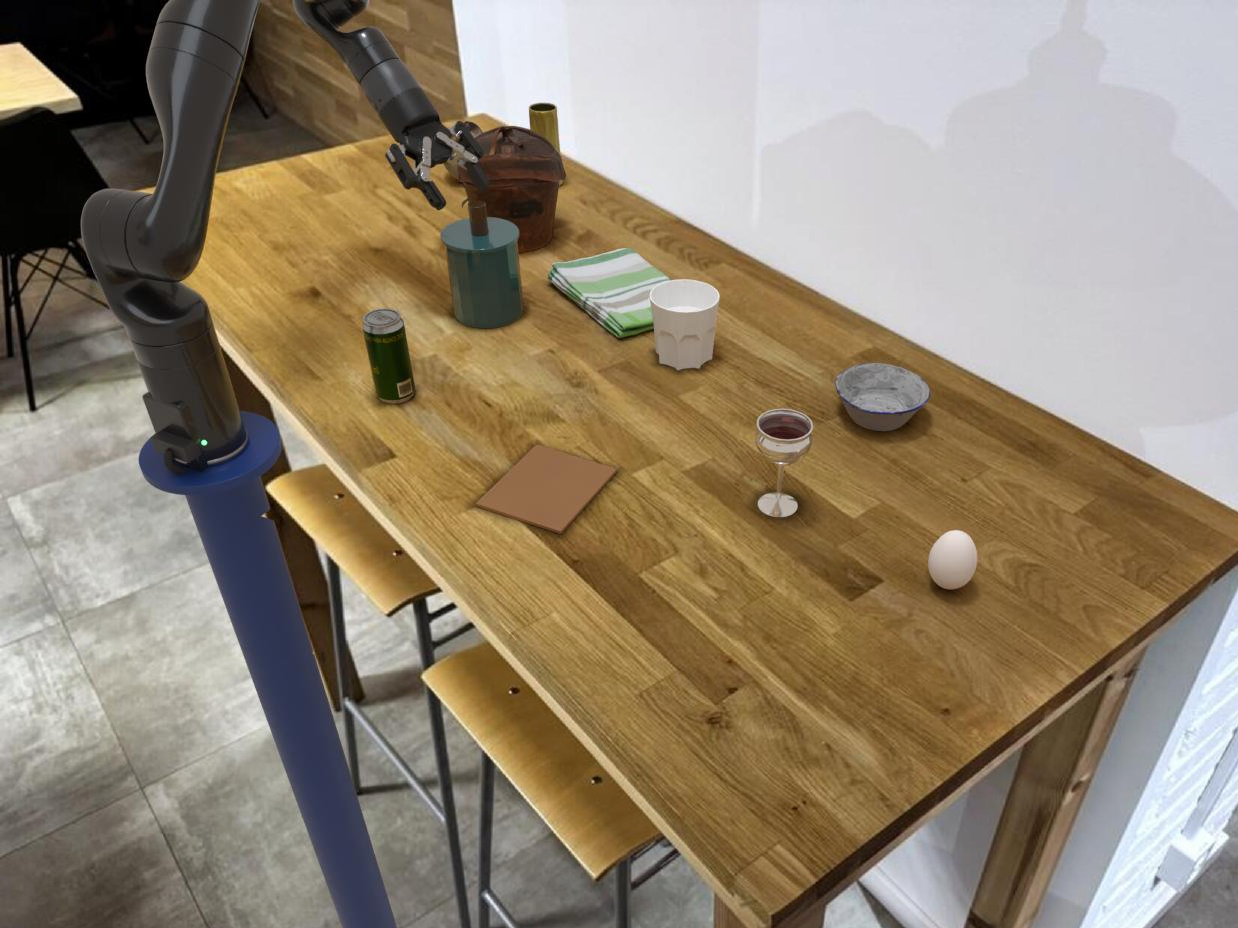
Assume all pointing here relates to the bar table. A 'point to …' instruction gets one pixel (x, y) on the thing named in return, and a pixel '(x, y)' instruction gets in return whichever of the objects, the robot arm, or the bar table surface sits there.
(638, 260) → the dish towel
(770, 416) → the wineglass
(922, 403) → the bowl
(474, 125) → the fruit
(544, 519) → the mat
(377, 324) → the beer can
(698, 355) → the cup
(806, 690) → the bar table surface
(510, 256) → the teal hollow cylinder
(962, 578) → the egg
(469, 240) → the lid with knob
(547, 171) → the case
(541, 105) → the vase
